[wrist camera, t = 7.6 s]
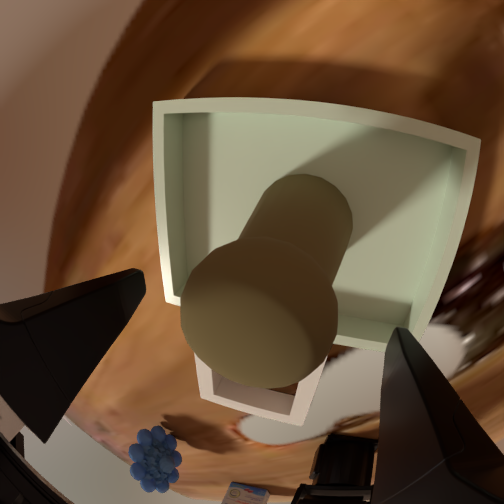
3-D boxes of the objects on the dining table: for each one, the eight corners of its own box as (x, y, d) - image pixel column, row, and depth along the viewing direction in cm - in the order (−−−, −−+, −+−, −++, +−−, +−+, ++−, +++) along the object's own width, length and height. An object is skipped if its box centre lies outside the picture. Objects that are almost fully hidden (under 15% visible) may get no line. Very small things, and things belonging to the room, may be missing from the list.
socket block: (331, 333, 21) (327, 356, 19) (307, 406, 26) (302, 426, 24) (204, 304, 24) (190, 321, 22) (210, 380, 28) (200, 397, 26)
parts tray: (461, 136, 12) (481, 139, 10) (407, 328, 19) (411, 356, 16) (179, 102, 17) (153, 101, 14) (185, 282, 23) (165, 301, 21)
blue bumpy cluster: (209, 455, 40) (180, 509, 29) (182, 450, 43) (153, 498, 32) (168, 417, 37) (129, 476, 26) (142, 413, 40) (105, 464, 30)
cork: (357, 178, 15) (371, 274, 6) (346, 273, 18) (328, 425, 8) (254, 170, 17) (132, 242, 7) (255, 261, 19) (170, 386, 10)
